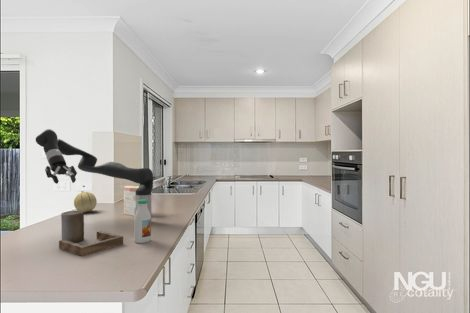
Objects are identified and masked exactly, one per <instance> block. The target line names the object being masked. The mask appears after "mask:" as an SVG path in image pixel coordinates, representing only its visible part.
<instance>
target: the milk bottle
mask: <svg viewBox="0 0 470 313" xmlns="http://www.w3.org/2000/svg"><path fill="white" fill-rule="evenodd" d="M147 204H148V200H146V199H142V200H138V209H137V212H136V214H135V216H134V222H133V223H134V225H133V227H134V228H133V229H134V230H133V233H134V235H133V236H134V237H133V239H134V240H133V241H134V242H135V243H137V244H144V243H149V242H151V240H152V214H151V215H150V212H149V210H148V207H147Z"/></svg>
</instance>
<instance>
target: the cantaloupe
mask: <svg viewBox="0 0 470 313" xmlns="http://www.w3.org/2000/svg"><path fill="white" fill-rule="evenodd" d="M97 201H98V200H97V197H96V196H95V195H94V193H92V192H90V191H83V190H82V191H81V192H80V193H78V194H76V196H74V199H73V206H74V208H75V209H76V211H83V212H87V213H89V212H91V211H93V210H94V209H95V208H96V207H97V203H98V202H97Z"/></svg>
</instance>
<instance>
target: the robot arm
mask: <svg viewBox="0 0 470 313" xmlns="http://www.w3.org/2000/svg"><path fill="white" fill-rule="evenodd" d="M35 143H36V144H38V145H39V146H40V147H43V151H44V154H45V156H46V157H45V158H46V160H47V162H48V165H46V167H45V169H44V172H45V174H46V177H47V178H51V179H52V181H53V183H54V184H56V185H57V184H58V183H59V182H60V181H59V180H60V179H59V178H58V175H65V176H66V177H69V178H70V180H71V183H72V184H73V183H75V182H76V181H77V179H76V176H77V175H78V171H77V169H76V168H75V167H74V165H71V166H68V165H67V162H66V160H65V157H64V156H81V157H80V160H79V162H78V164H77V168H78V169H79V170H80V171H83V172H85V173H93V174H99V175H103V176H106V177H111V178H115V179H116V178H117V179H122V180H127V181H130V182H133V183H136V184H139V185H138V186H139V188H138V189H137V190H136V207H135V214H136V212H137V209H138V200H142V199H146V200H148V204H147V207H148V210H149V212H150V215H151V216H152V191H153V189H154V173H153V170H152V169H150V168H147V167H141V168H132V167H127V166H126V165H124V164H122V163H121V162H120V163H119V162H114V161H107V162H105V163H102V164H99V165H96V164H97V162H98V158H97V157H96V156H94V155H93V154H91V153H88V151H87V152H86V151H84V150H82V149H81V148H78V147H75V146H73V145H71V144H70V143H68V142H67V141H64V140H63V139H61V138H58V135H57V133H56V132H55V130H53V129H51V128H47V129H44V130H43V131H42V132H41V133H40V134H38V135H36V137H35ZM52 172H53V173H52Z"/></svg>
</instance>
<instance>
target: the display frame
mask: <svg viewBox="0 0 470 313" xmlns="http://www.w3.org/2000/svg"><path fill="white" fill-rule="evenodd" d="M96 239H97V240H100V241H96V242H93V243H88V244H85V245H84V244H83V245H82V244H79V243H78V242H75V243H73V242H70V241H67V240H62V239H61V240H58V249H59V248H60V249H59V250H62V249H63V250H62V251H65V250H66V251H65V252H68V251H69V253H71V252H72V253H71V254H74V253H75V255H77V254H78V255H77V256H80V255H81V256H80V257H83V255H84V256H87V255H86V254H88V255H90V253H91V254H94V253H97V251H98V252H101V251H103V250H107V248H108V249H110V248H114V247H117V246H121V245H123V244H124V236H123V235H119V234H115V233H111V232H108V231H107V232H106V231H102V230H98V231H96Z"/></svg>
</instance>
